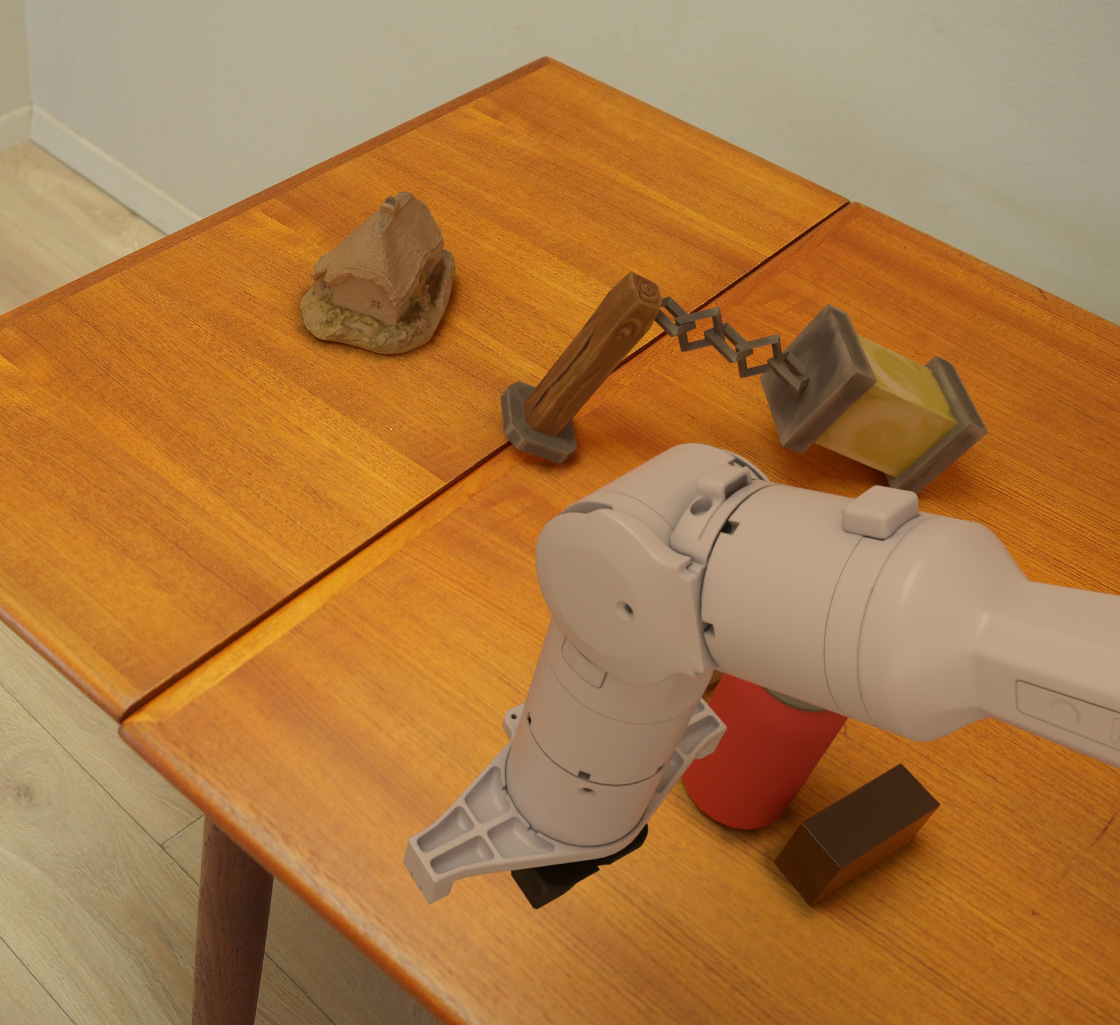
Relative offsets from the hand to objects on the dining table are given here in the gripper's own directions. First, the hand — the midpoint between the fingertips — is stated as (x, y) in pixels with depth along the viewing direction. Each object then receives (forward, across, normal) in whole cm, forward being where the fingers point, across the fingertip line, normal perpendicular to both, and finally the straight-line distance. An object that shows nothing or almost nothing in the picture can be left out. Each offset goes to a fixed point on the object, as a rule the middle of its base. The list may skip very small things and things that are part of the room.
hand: (534, 884), depth 53 cm
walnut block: (+9, -21, +4) cm, 23 cm away
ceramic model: (+10, -22, -51) cm, 56 cm away
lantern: (+10, -37, -25) cm, 46 cm away
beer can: (+10, -18, -2) cm, 21 cm away
